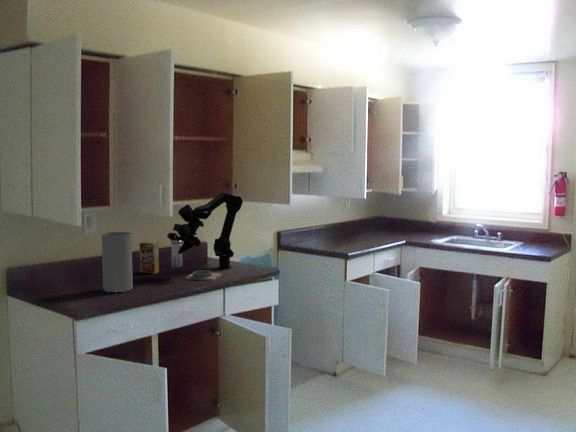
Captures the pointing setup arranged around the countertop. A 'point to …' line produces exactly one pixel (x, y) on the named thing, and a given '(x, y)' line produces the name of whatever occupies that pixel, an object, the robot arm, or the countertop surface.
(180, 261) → the metal canister
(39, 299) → the countertop surface
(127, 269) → the cylinder vase
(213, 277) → the duct board
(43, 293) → the countertop surface
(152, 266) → the candy box
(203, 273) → the collar
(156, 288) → the countertop surface
